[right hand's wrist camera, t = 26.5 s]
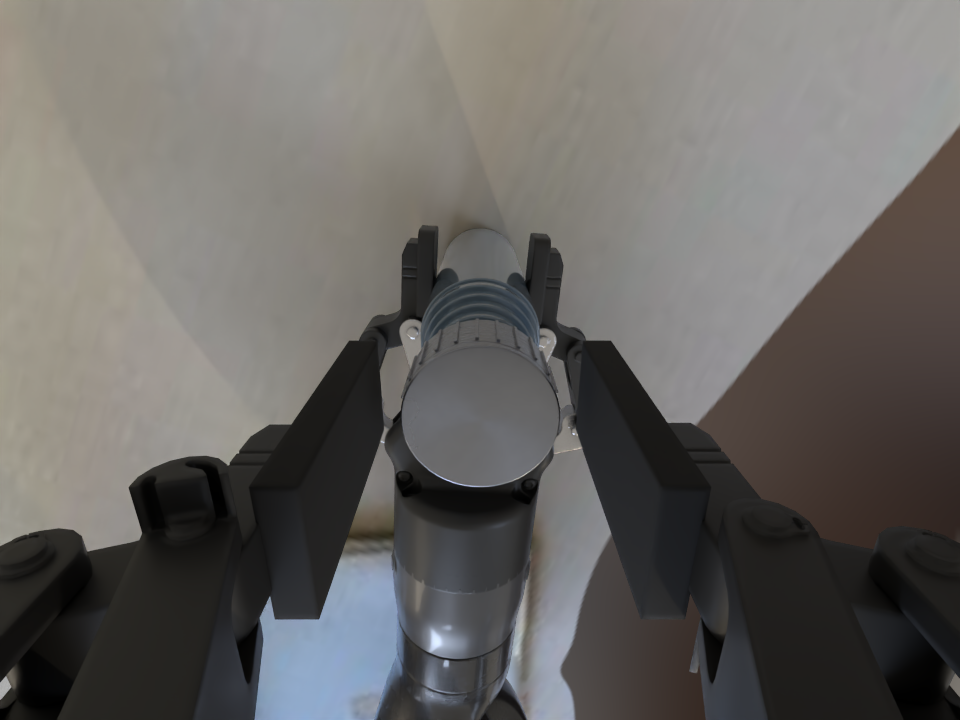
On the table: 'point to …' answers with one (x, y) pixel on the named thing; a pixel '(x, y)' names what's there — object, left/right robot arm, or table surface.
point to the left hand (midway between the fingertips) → (485, 233)
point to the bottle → (480, 286)
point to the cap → (480, 404)
